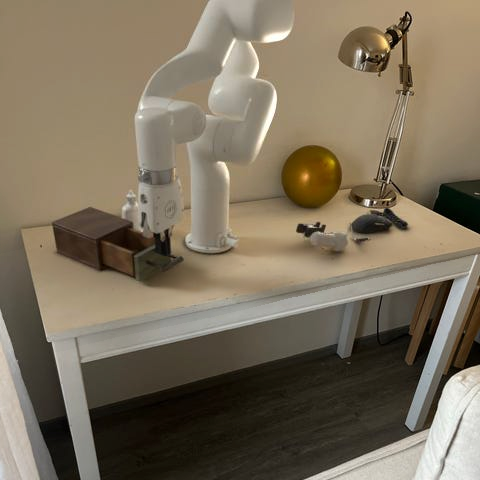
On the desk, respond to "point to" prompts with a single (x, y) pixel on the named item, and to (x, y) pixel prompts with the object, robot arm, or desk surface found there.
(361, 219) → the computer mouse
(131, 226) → the cabinet
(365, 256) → the desk surface
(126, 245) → the drawer
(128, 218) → the eye dropper bottle
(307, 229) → the clip-on lamp
